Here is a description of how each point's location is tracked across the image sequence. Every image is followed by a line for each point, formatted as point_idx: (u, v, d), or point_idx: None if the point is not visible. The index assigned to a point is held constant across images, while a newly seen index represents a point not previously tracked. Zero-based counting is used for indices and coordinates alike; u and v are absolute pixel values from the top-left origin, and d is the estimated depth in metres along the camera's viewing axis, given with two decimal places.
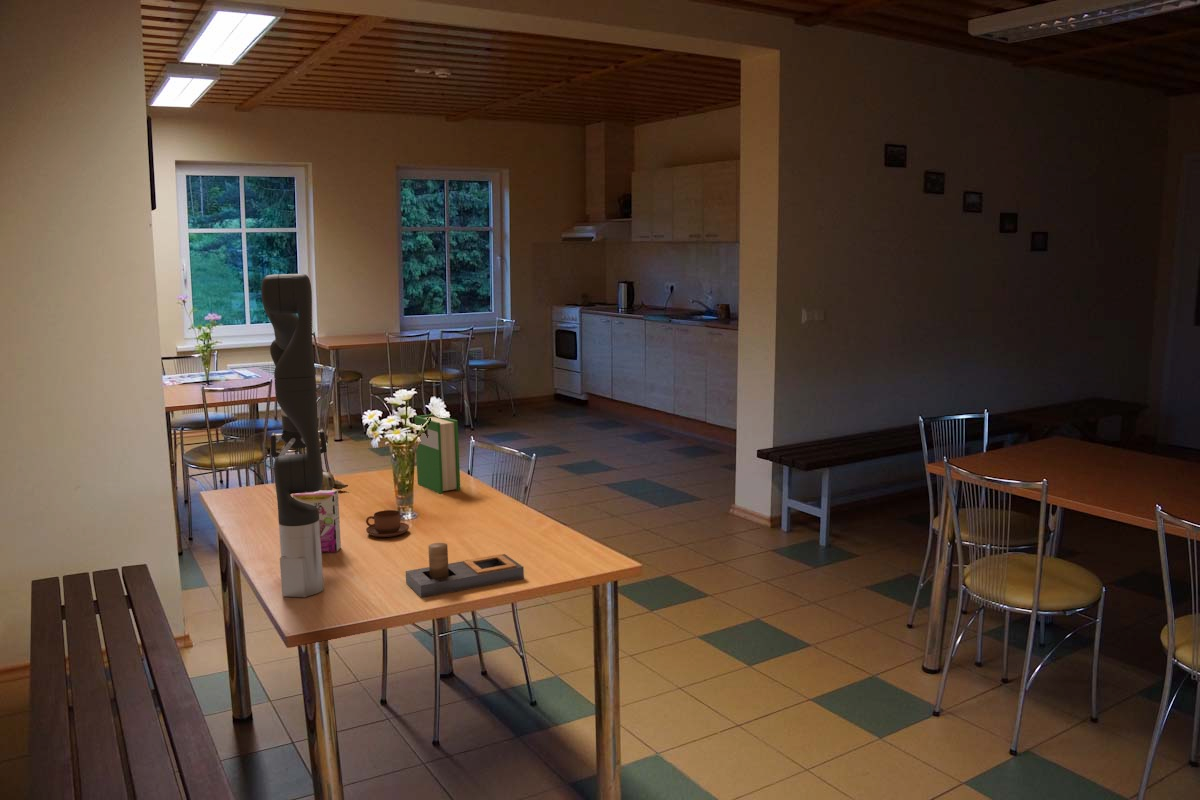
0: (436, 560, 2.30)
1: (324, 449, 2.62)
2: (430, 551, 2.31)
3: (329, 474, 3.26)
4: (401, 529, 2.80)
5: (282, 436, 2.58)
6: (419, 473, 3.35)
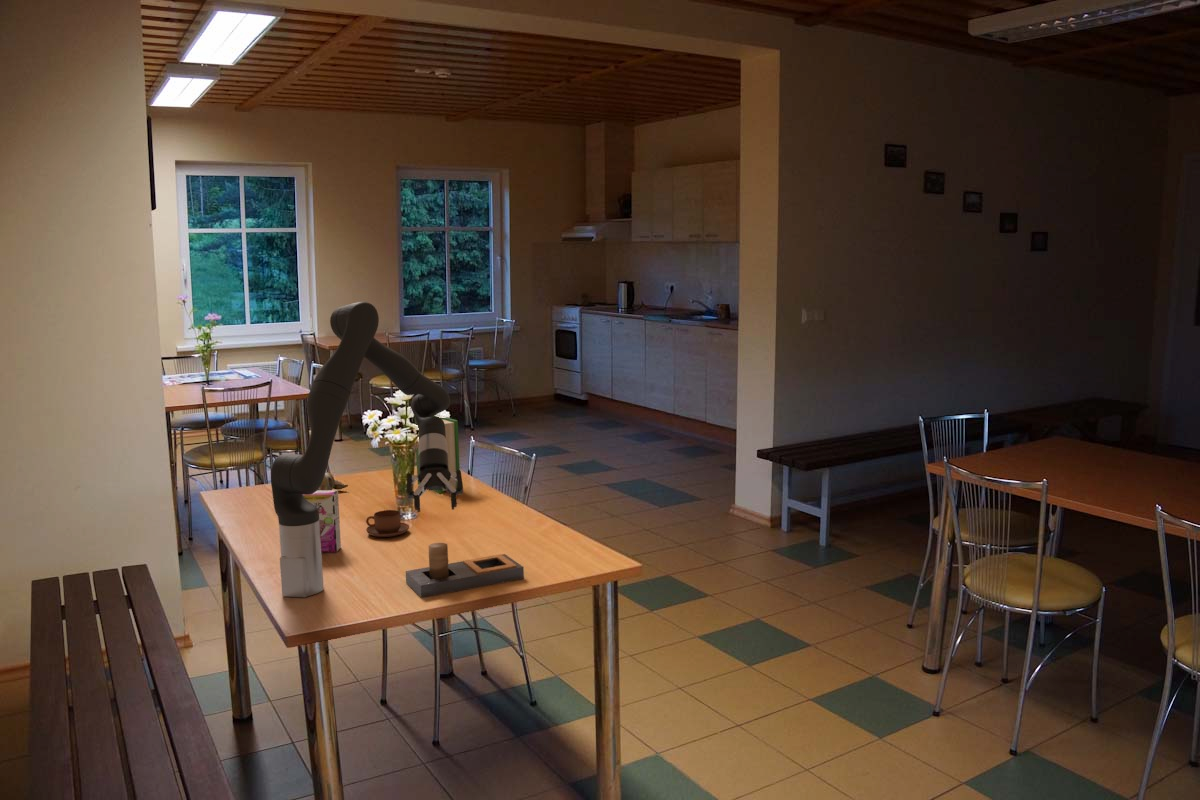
0: (436, 560, 2.30)
1: (460, 486, 2.47)
2: (430, 551, 2.31)
3: (329, 474, 3.26)
4: (401, 529, 2.80)
5: (418, 475, 2.48)
6: None
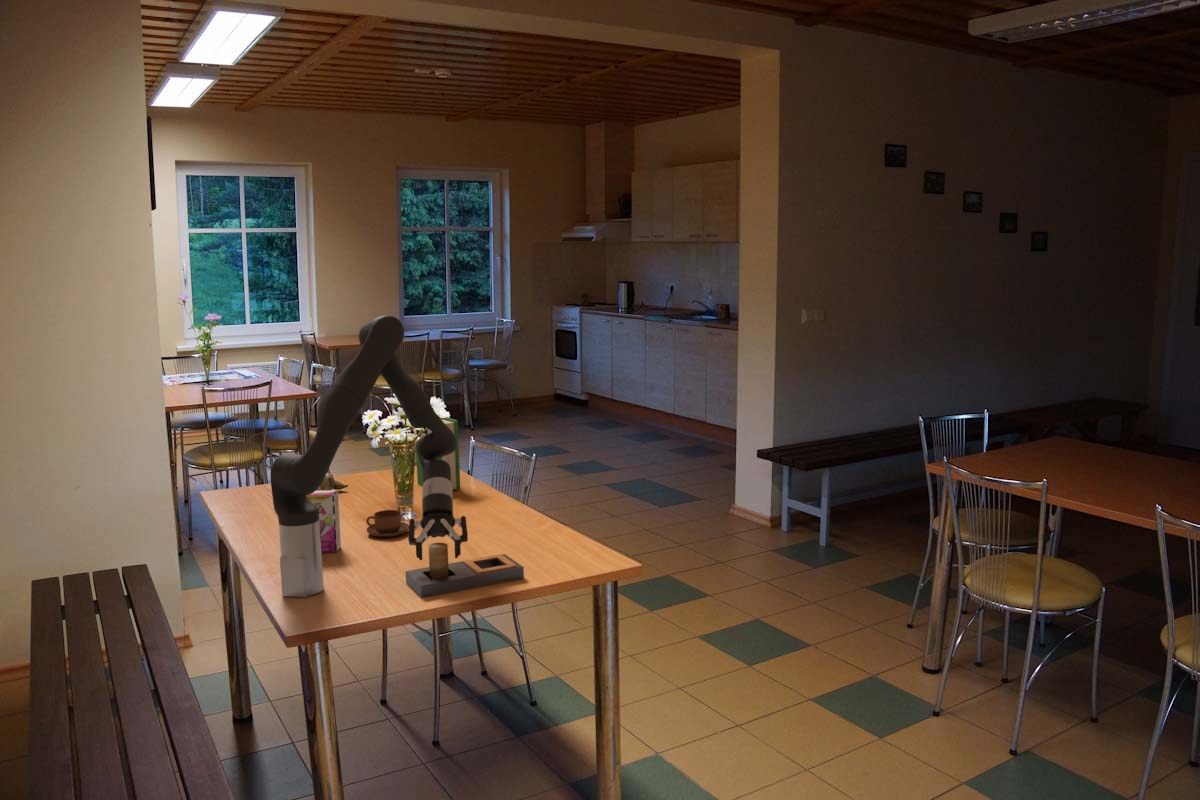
0: (436, 560, 2.30)
1: (465, 533, 2.36)
2: (430, 551, 2.31)
3: (329, 474, 3.26)
4: (401, 529, 2.81)
5: (421, 521, 2.38)
6: (419, 473, 3.35)
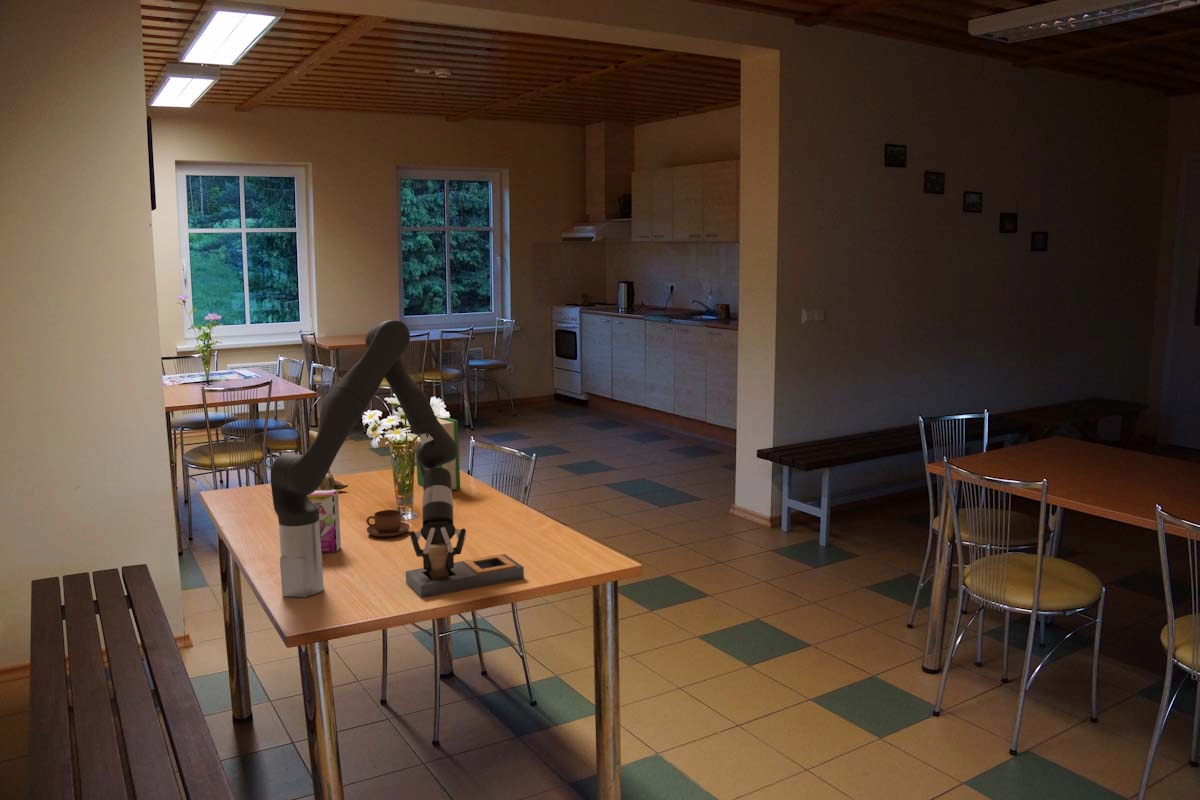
0: (436, 560, 2.30)
1: (458, 546, 2.34)
2: (430, 551, 2.31)
3: (329, 474, 3.26)
4: (401, 529, 2.81)
5: (421, 530, 2.36)
6: (419, 473, 3.35)
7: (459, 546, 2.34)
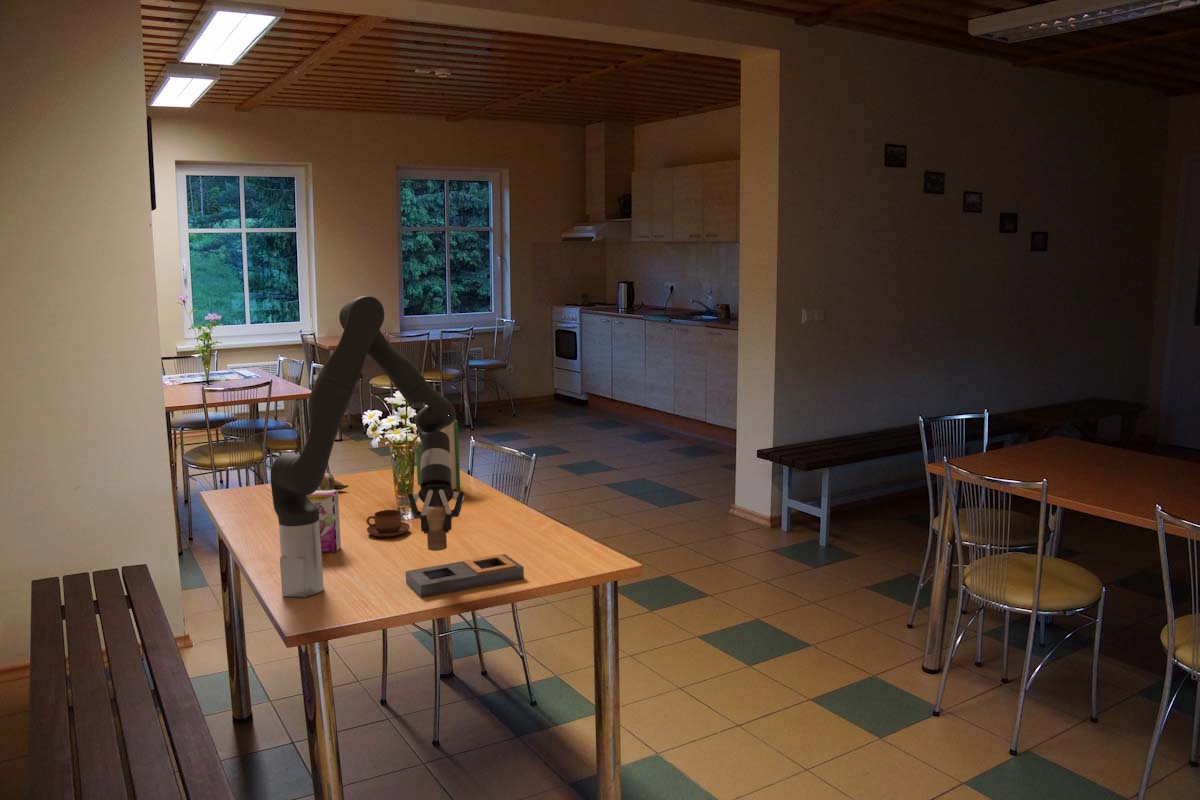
0: (434, 521, 2.29)
1: (456, 508, 2.32)
2: (428, 513, 2.29)
3: (329, 475, 3.25)
4: (402, 529, 2.81)
5: (419, 492, 2.34)
6: (419, 473, 3.35)
7: (457, 508, 2.32)
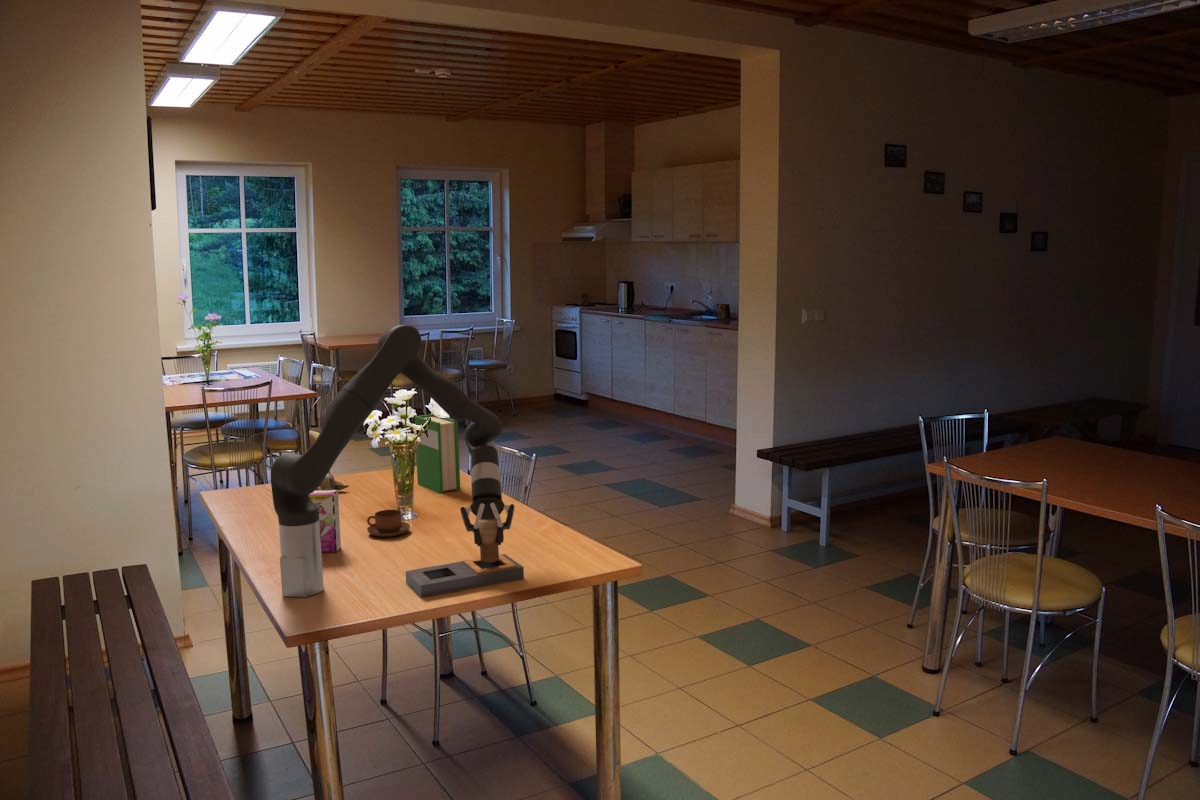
0: (486, 534, 2.36)
1: (508, 521, 2.39)
2: (481, 526, 2.36)
3: (330, 475, 3.25)
4: (402, 528, 2.81)
5: (471, 506, 2.41)
6: (419, 473, 3.35)
7: (508, 521, 2.39)
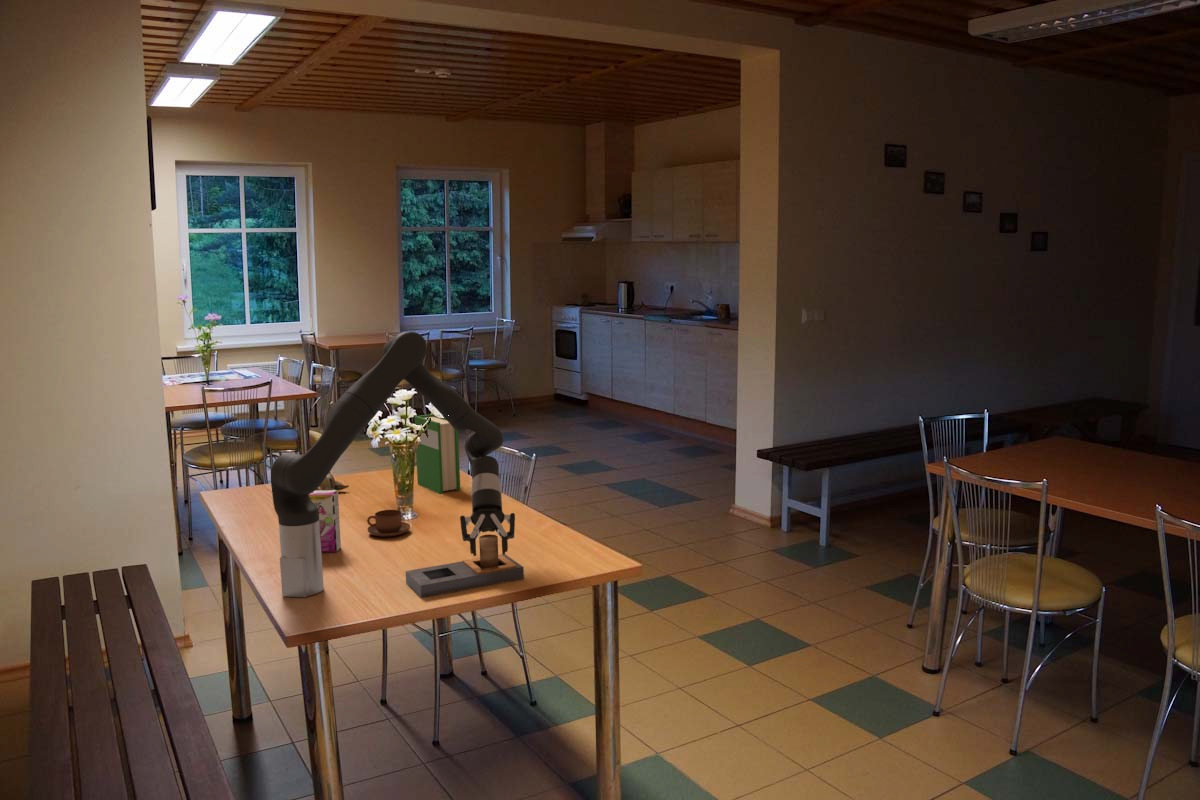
0: (487, 551, 2.36)
1: (512, 530, 2.40)
2: (481, 542, 2.37)
3: (330, 475, 3.25)
4: (402, 529, 2.81)
5: (471, 516, 2.42)
6: (419, 473, 3.35)
7: (512, 530, 2.40)
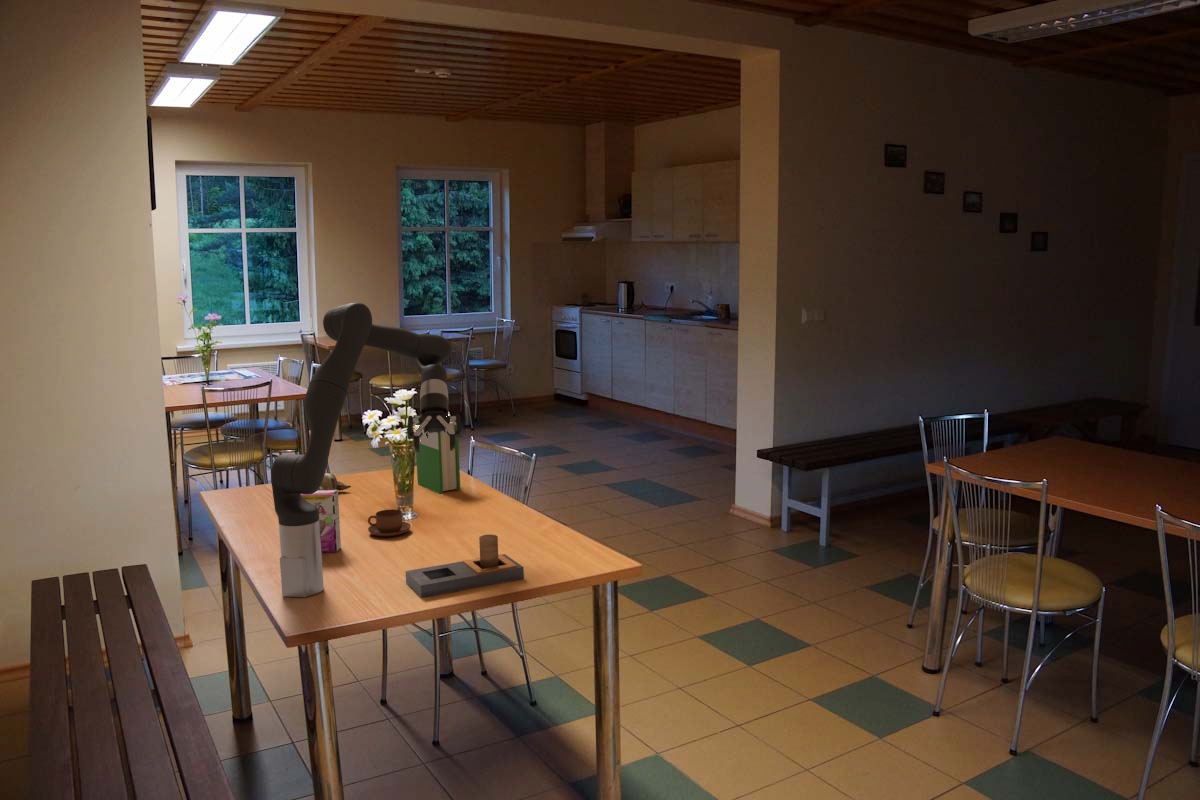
0: (487, 551, 2.36)
1: (459, 429, 2.55)
2: (481, 542, 2.37)
3: (332, 475, 3.25)
4: (403, 528, 2.81)
5: (419, 417, 2.57)
6: (419, 473, 3.35)
7: (460, 429, 2.55)
